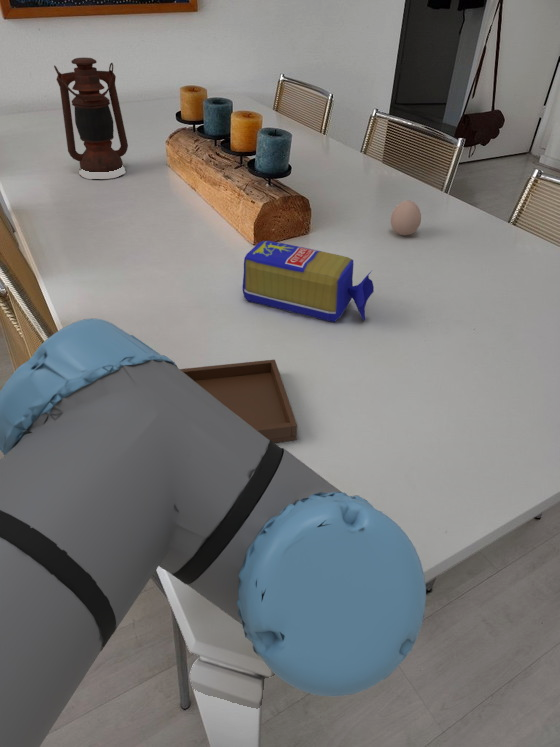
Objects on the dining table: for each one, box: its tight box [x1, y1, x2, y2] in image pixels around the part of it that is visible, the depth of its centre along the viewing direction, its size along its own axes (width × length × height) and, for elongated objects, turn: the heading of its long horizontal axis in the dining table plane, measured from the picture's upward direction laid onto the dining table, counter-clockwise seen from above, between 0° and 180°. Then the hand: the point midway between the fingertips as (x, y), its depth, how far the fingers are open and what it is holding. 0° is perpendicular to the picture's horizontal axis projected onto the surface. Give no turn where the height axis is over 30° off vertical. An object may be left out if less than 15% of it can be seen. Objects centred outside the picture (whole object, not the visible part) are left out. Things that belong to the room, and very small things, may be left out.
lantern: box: [53, 57, 129, 180], centre depth 155 cm, size 17×14×30 cm
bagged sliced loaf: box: [241, 240, 375, 323], centre depth 103 cm, size 10×25×10 cm, turn 67°
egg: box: [390, 200, 422, 237], centre depth 131 cm, size 7×7×8 cm
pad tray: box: [179, 359, 298, 444], centre depth 80 cm, size 16×16×3 cm
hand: (242, 500), depth 58 cm, fingers closed on coffee cup, 7 cm apart
